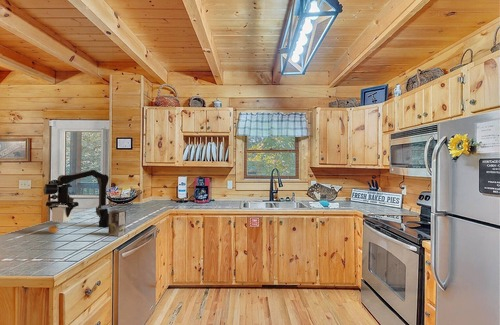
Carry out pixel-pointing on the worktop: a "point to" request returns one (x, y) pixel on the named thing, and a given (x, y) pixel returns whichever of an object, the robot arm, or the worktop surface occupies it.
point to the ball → (53, 229)
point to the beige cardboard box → (60, 214)
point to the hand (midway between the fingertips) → (61, 216)
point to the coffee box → (117, 222)
